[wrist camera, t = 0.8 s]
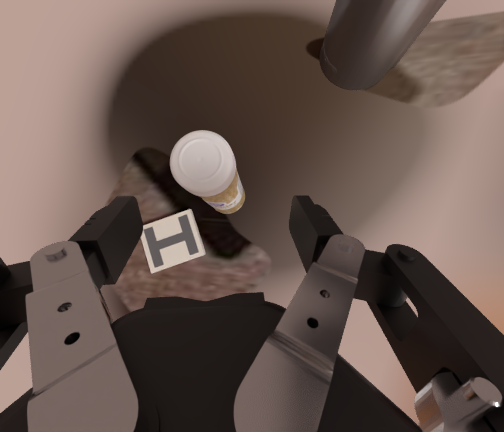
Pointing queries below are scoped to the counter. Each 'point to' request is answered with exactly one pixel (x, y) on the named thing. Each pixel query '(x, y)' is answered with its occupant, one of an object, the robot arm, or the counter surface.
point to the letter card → (172, 241)
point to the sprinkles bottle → (208, 170)
